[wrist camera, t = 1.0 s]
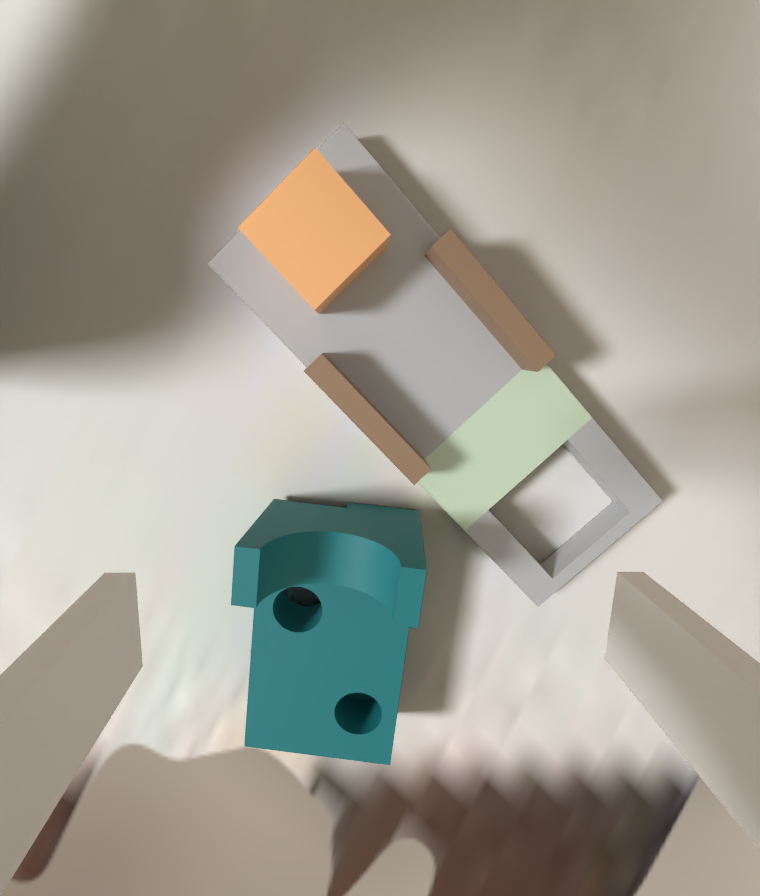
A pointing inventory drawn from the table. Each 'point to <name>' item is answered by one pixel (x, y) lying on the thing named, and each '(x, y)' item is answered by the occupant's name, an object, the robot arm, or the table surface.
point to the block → (316, 231)
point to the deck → (443, 376)
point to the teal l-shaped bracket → (329, 625)
